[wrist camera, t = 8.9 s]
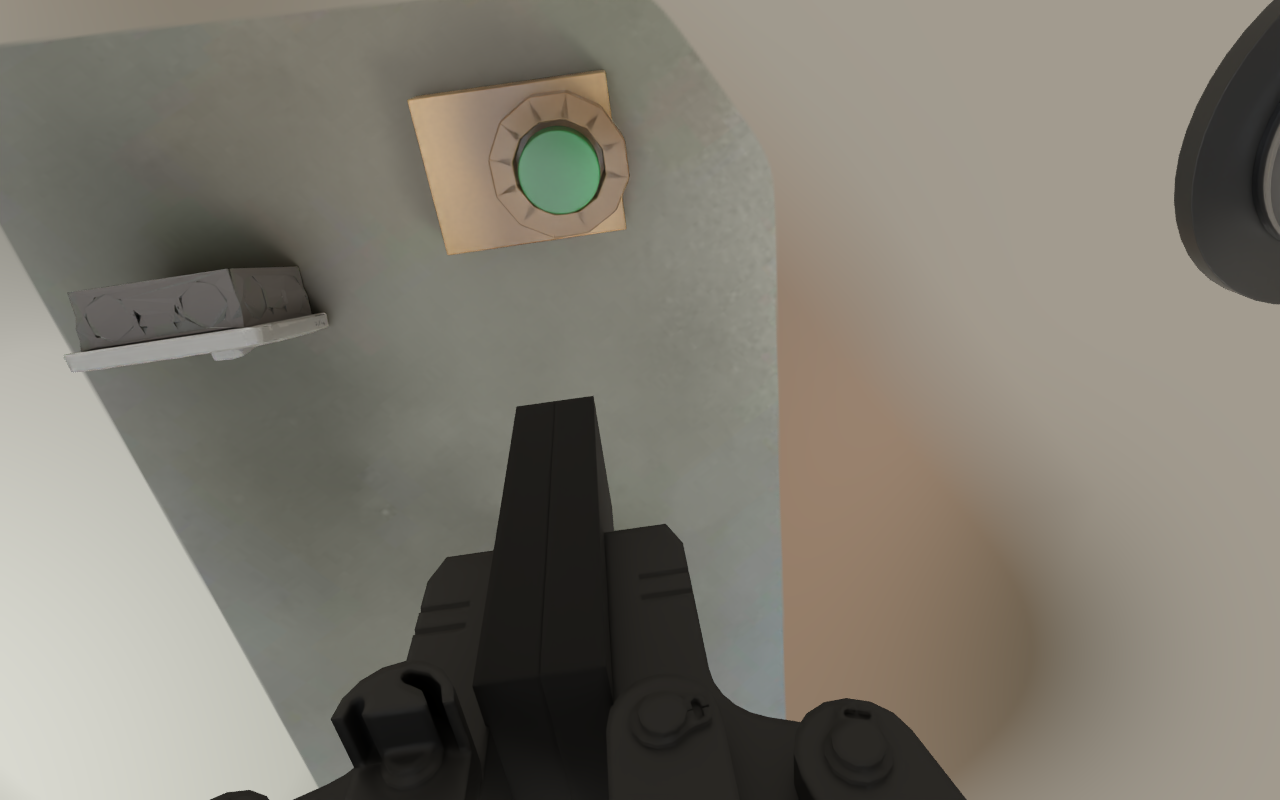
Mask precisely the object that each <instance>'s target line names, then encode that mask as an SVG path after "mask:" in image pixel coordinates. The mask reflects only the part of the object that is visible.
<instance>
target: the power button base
mask: <svg viewBox="0 0 1280 800" xmlns="http://www.w3.org/2000/svg"><path fill="white" fill-rule="evenodd" d="M408 105H409V109H410V113H411V117H412V121H413V124H414V128H415V132H416V136H417V140H418V144H419V147H420V151H421V155H422V159H423V163H424V167H425V170H426V174H427V178H428V182H429V186H430V190H431V194H432V197H433V201H434V205H435V209H436V213H437V217H438V220H439V224H440V228H441V232H442V236H443V240H444V243H445V247H446V251H447V254H448V255H453V254H460V253H467V252H474V251H481V250H487V249H494V248H501V247H508V246H515V245H522V244H528V243H535V242H542V241H549V240H556V239H563V238H570V237H576V236H583V235H590V234H597V233H604V232H611V231H617V230H624V229H626V221H625V214H624V206H623V199H622V195H623V193H624V190H625V188H626V185H627V183H628V180H629V168H628V160H627V152H626V144H625V140H624V137H623V135H622V133H621V132H620V131H619V129H618V128H617V126H616V125H615V124H614V122H613V121H612V117H611V109H610V102H609V94H608V87H607V79H606V73H605V71H604V70H596V71H589V72H582V73H575V74H568V75H561V76H554V77H547V78H540V79H533V80H526V81H519V82H512V83H505V84H498V85H491V86H484V87H477V88H470V89H463V90H456V91H449V92H442V93H435V94H428V95H421V96H415V97H413V98H411V99H408ZM550 126H566V127H570V128H573V129H575V130H577V131H579V132H580V133H582V134H583V135H584V136H585V137H586V138H587V139H588V140H589V141H590V142H591V144H592V145H593V147H594V149H595V151H596V153H597V156H598V161H599V166H600V182H599V186H598V189H597V191H596V193H595V195H594V197H593V198H592V199H591V201H590V202H589V203H588V204H587V205H586V206H584V207H583V208H581V209H580V210H578V211H576V212H573V213H569V214H552V213H548V212H545V211H543V210H541V209H539V208H538V207H536V206H535V205H534V204H533V203H532V202H531V201H530V200H529V199H528V198H527V197H526V195H525V194H524V192H523V190H522V188H521V185H520V182H519V178H518V163H519V159H520V156H521V153H522V151H523V148H524V146H525V144H526V143H527V141H528V140H529V139H530V138H531V137H532V136H533V135H534V134H535V133H536V132H538V131H540V130H541V129H544V128H546V127H550Z"/></svg>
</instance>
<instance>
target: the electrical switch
mask: <svg viewBox="0 0 1280 800" xmlns="http://www.w3.org/2000/svg"><path fill="white" fill-rule="evenodd" d="M230 272H231V276H230V273H229V269H222V270H215V271H209V272H202V273H195V274H189V275H182V276H175V277H169V278H162V279H155V280H148V281H142V282H135V283H128V284H122V285H115V286H108V287H101V288H95V289H88V290H81V291H75V292H68V296H69V299H70V302H71V305H72V308H73V311H74V314H75V317H76V331H77V334H78V337H79V340H80V347H81V352H78V353H72V354H66V355H64V358H65V360H66V362H67V364H68V366H69V368H70V370H71V372H82V371H93V370H100V369H107V368H114V367H121V366H128V365H134V364H141V363H148V362H155V361H161V360H168V359H176V358H182V357H188V356H194V355H201V354H208V353H211V355H212V357H213V359H214V360H215V361H219V360H228V359H235V358H238V357H241V356H244V355H245V354H247V353H248V352H250V351H251V350H253V349H254V348H255V347H257V346H259V345H264V344H269V343H274V342H278V341H282V340H286V339H290V338H294V337H297V336H301V335H305V334H309V333H312V332H315V331H318V330H321V329H324V328H327V327H329V326H328V320H327V315H326V313H317V314H311V309H310V304H309V300H308V296H307V294H306V292H305V290H304V288H303V284H302V279H301V275H300V271H299V267H298V266H297V267H264V268H231V269H230ZM196 281H198V282H196Z"/></svg>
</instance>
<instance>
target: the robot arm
mask: <svg viewBox="0 0 1280 800" xmlns="http://www.w3.org/2000/svg"><path fill="white" fill-rule="evenodd" d="M1252 195H1253V201H1254V206H1255V209H1256V213H1257V215H1258V217H1259V219H1260V222H1261V223H1262V225H1263V226H1264V228H1265V229H1266V230H1267V232H1268V233H1269V234H1270V235H1271V236H1272V237H1274V238H1275V239H1276V240H1277V241H1279V242H1280V101H1279V103H1278V105H1277V106H1276V108H1275V110H1274V111H1273V113H1272V115H1271V117H1270V119H1269V121H1268V123H1267V125H1266V128H1265V130H1264V133H1263V135H1262V137H1261V140H1260V143H1259V146H1258V149H1257V153H1256V157H1255V162H1254V168H1253V174H1252ZM331 721H332V723H333V725H334V727H335V729H336V731H337V733H338V735H339V737H340V739H341V741H342V743H343V745H344V747H345V749H346V752H347V754H348V756H349V758H350V760H351V762H352V764H353V766H354V768H353V769H352V770H351V771H349V772H348V773H347V774H345V775H344V776H342V777H340V778H338V779H337V780H335V781H333V782H331V783H329V784H327V785H325V786H323V787H321V788H319V789H316V790H314V791H312V792H310V793H307V794H305V795H303V796H301V797H298V798H296V799H294V800H966V799H965V797H964V796H963V795H962V793H960V791H959V790H958V788H957V787H956V786H955V785H954V783H953V782H952V781H951V779H950V778H949V777H948V775H947V774H946V773H945V772H944V770H943V769H942V768H941V767H940V765H939V764H938V763H937V761H936V760H935V759H934V758H933V756H932V755H931V754H930V753H929V751H928V750H927V749H926V747H925V746H924V745H923V743H922V742H921V741H920V740H919V738H918V737H917V736H916V735H915V733H914V732H913V731H912V730H911V729H910V728H909V727H908V726H907V725H906V724H905V723H904V722H903V721H902V720H901V719H900V718H898V717H897V716H896V715H895V714H894V713H893V712H891V711H889V710H887V709H884V708H882V707H880V706H878V705H876V704H874V703H872V702H869V701H862V700H855V699H848V698H845V699H840V700H834V701H829V702H824V703H822V704H821V705H819V706H818V707H816V708H814V709H813V710H811V711H810V712H808V713H807V714H806V715H805V717H804V718H803V720H802V721H801V722H796V721H790V720H783V719H777V718H770V717H766V716H762V715H758V714H754V713H751V712H749V711H747V710H745V709H743V708H741V707H739V706H737V705H735V704H734V703H732V702H731V701H730V700H729V699H728V698H727V697H725V696H724V695H723V694H722V693H721V691H720V690H719V689H718V687H717V686H716V684H715V683H714V681H713V679H712V676H711V673H710V670H709V667H708V662H707V657H706V652H705V648H704V643H703V638H702V633H701V628H700V624H699V619H698V614H697V609H696V604H695V599H694V595H693V591H692V585H691V580H690V575H689V572H688V566H687V561H686V556H685V551H684V547H683V543H682V542H681V540H680V539H679V538H678V537H677V536H676V535H675V534H674V533H673V532H672V530H671V529H670V528H669V527H668V526H667V525H666V524H661V525H654V526H647V527H640V528H633V529H626V530H619V531H614V528H613V515H612V505H611V499H610V493H609V487H608V481H607V475H606V469H605V463H604V457H603V451H602V445H601V439H600V433H599V427H598V421H597V415H596V409H595V403H594V397H593V396H590V397H583V398H575V399H568V400H561V401H554V402H547V403H540V404H532V405H525V406H518V407H517V408H516V414H515V420H514V426H513V433H512V439H511V445H510V452H509V458H508V464H507V470H506V477H505V483H504V489H503V496H502V502H501V508H500V515H499V521H498V527H497V533H496V540H495V546H494V551H487V552H480V553H473V554H466V555H459V556H452V557H447V558H446V559H445V560H444V562H443V563H442V564H441V565H440V567H439V568H438V569H437V570H436V572H435V573H434V574H433V576H432V577H431V578H430V579H429V581H428V583H427V586H426V590H425V594H424V597H423V601H422V605H421V613H419V616H418V620H417V623H416V627H415V635H413V638H412V642H411V646H410V649H409V653H408V657H407V660H406V661H404V662H401V663H397V664H394V665H391V666H387V667H384V668H381V669H380V670H378V671H376V672H375V673H373V674H371V675H370V676H368V677H366V678H364V679H363V680H361V681H360V682H359V683H358V684H357V685H356V686H355V687H354V688H353V689H352V690H351V691H350V692H349V693H348V694H347V695H346V696H345V697H343V698H342V700H341V702H340V704H339V705H338V707H337V709H336V711H335V713H334V714H333V716H332V718H331ZM211 800H269V799H268V798H267V796H264V795H262V794H259V793H256V792H254V791H251V790H246V791H236V792H227V793H225V794H222V795H220V796H218V797H215V798H213V799H211Z"/></svg>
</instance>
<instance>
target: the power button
mask: <svg viewBox="0 0 1280 800" xmlns="http://www.w3.org/2000/svg"><path fill="white" fill-rule="evenodd" d="M518 178H519V182H520V185H521V188H522V190H523V192H524V194H525V195H526V197H527V198H528V199H529V200H530V201H531V202H532V203H533V204H534V205H535V206H536V207H538V208H539V209H541V210H543V211H545V212H548V213H552V214H569V213H573V212H576V211H578V210H580V209H581V208H583V207H584V206H586V205H587V204H588V203H589V202H590V201H591V199H592V198H593V197H594V195H595V193H596V191H597V189H598V186H599V182H600V166H599V161H598V156H597V153H596V151H595V149H594V147H593V145H592V144H591V142H590V141H589V140H588V139H587V138H586V137H585V136H584V135H583V134H582V133H580V132H579V131H577V130H575V129H573V128H570V127H566V126H550V127H546V128H544V129H541V130H540V131H538V132H536V133H535V134H534V135H533V136H532V137H531V138H530V139H529V140H528V141H527V143H526V144H525V146H524V148H523V151H522V153H521V156H520V159H519V163H518Z"/></svg>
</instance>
